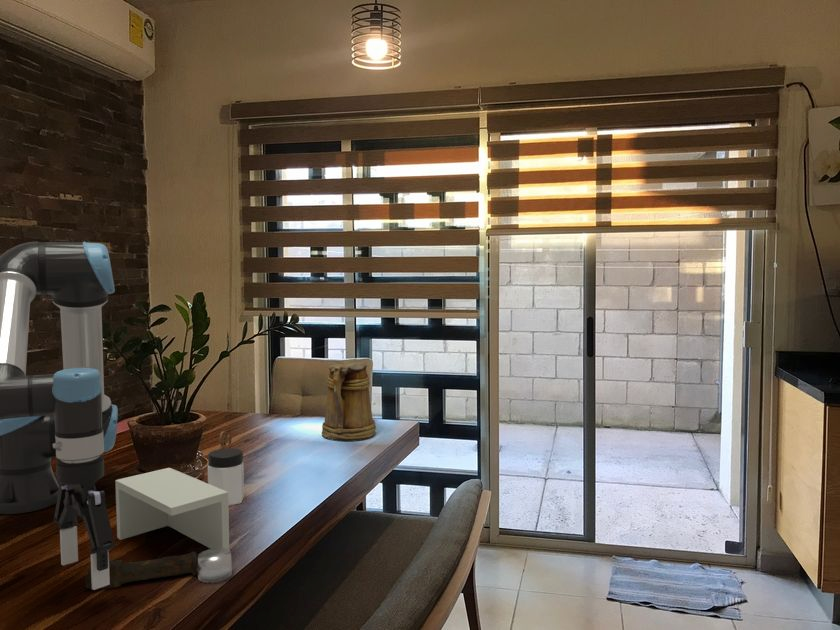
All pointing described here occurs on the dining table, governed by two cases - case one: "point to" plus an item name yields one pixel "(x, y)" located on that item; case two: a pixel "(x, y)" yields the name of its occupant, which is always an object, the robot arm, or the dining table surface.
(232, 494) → the jar
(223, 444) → the gingerbread man figurine
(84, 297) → the robot arm
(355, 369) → the tankard
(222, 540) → the low shelf
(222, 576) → the steel puck
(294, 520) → the dining table surface
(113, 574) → the hand tool
